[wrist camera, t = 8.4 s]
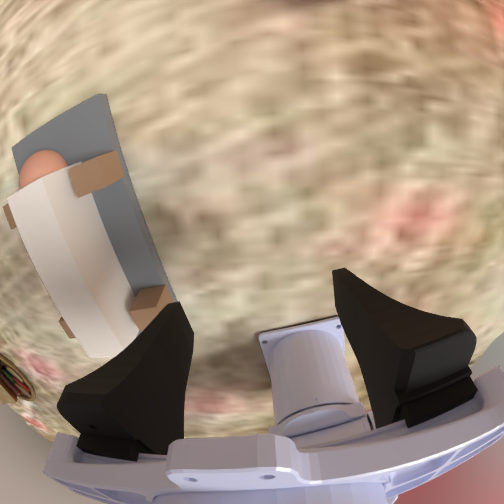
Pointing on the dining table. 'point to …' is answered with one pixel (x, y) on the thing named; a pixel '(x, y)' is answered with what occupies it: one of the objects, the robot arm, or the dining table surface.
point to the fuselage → (73, 255)
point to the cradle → (105, 198)
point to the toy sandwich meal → (13, 383)
